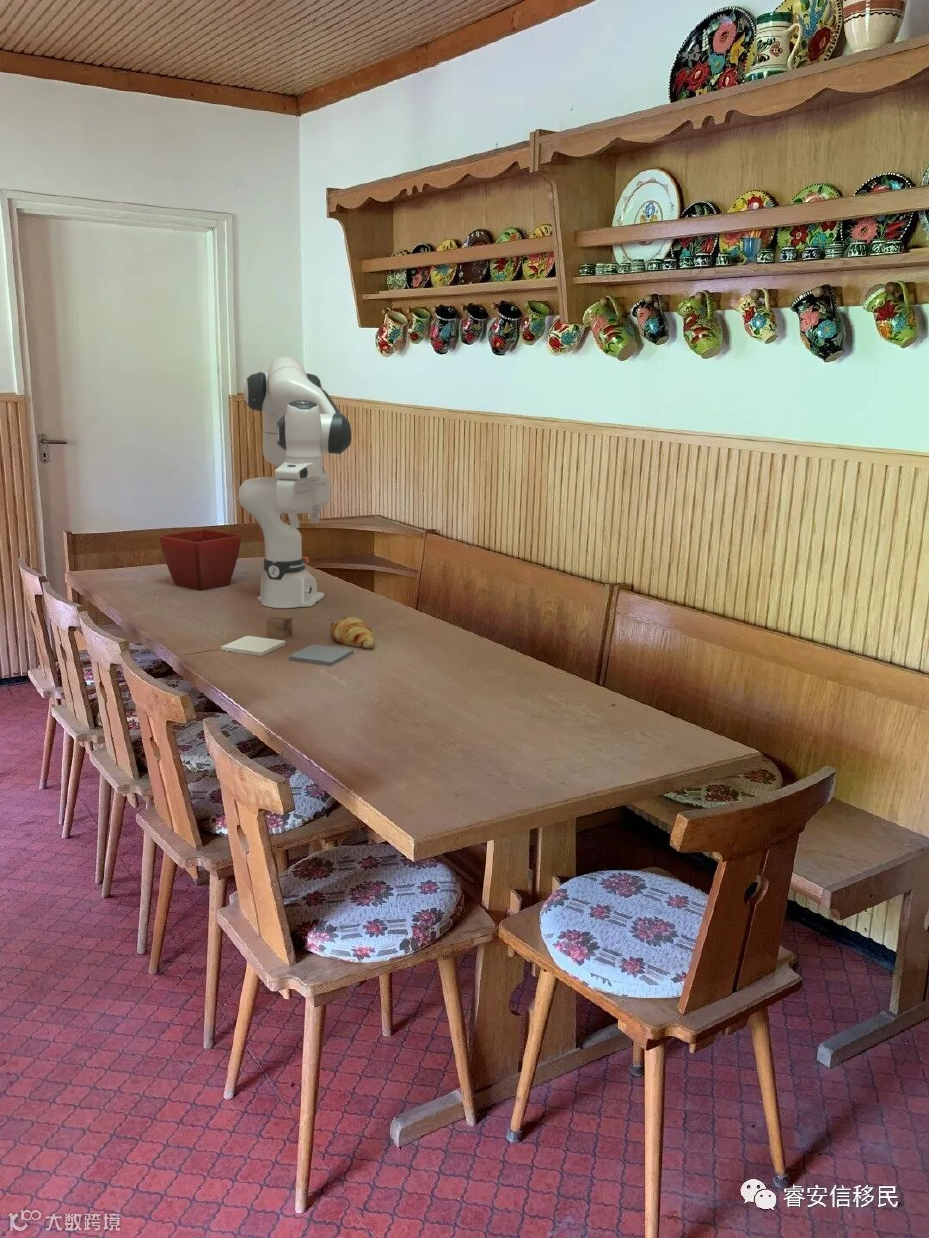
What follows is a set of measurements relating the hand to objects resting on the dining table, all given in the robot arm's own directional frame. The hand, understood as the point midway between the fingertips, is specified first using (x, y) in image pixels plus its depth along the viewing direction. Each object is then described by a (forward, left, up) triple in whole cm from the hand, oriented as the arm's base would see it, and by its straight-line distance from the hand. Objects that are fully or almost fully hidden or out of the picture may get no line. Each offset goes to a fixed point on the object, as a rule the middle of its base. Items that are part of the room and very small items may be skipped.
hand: (305, 525), depth 249 cm
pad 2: (-1, +3, -34) cm, 34 cm away
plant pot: (-57, -72, -34) cm, 98 cm away
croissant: (-18, +4, -34) cm, 39 cm away
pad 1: (-1, -17, -34) cm, 38 cm away
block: (-14, -17, -34) cm, 40 cm away
